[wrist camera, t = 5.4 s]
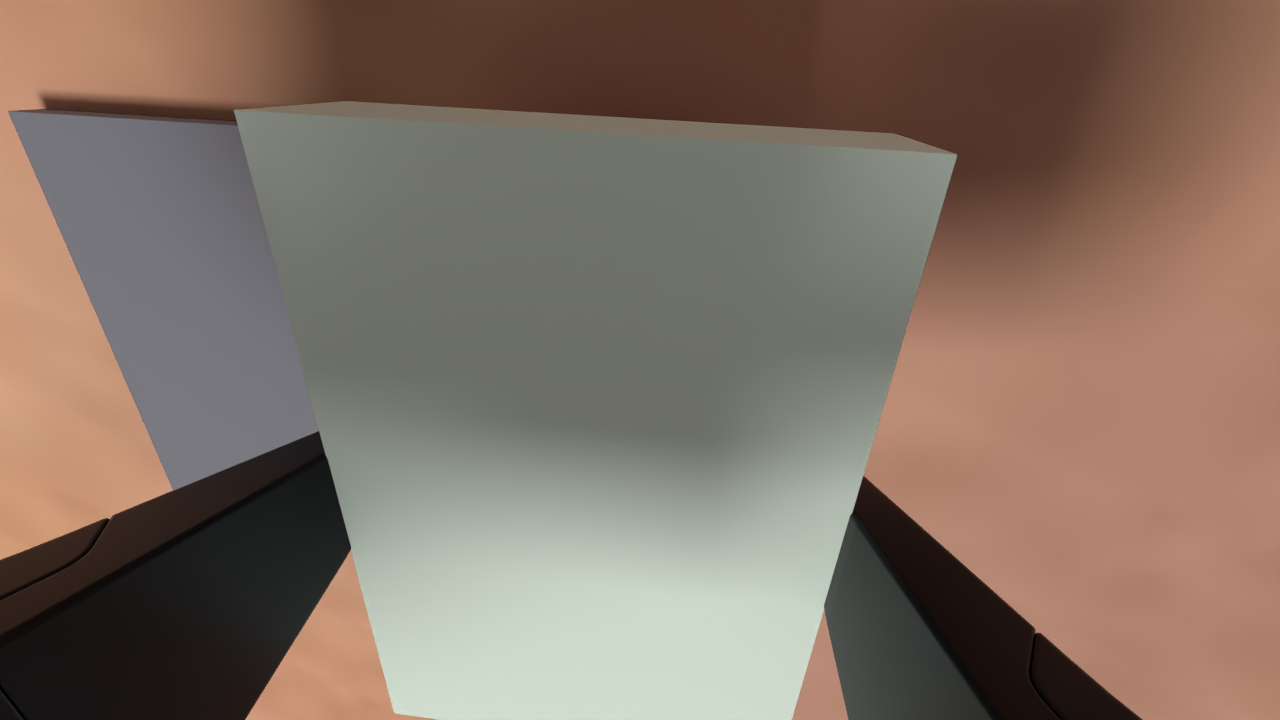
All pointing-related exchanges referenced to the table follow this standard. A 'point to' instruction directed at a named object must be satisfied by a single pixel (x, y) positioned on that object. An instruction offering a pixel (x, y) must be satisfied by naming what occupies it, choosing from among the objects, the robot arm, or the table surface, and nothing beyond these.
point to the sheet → (592, 388)
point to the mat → (177, 279)
